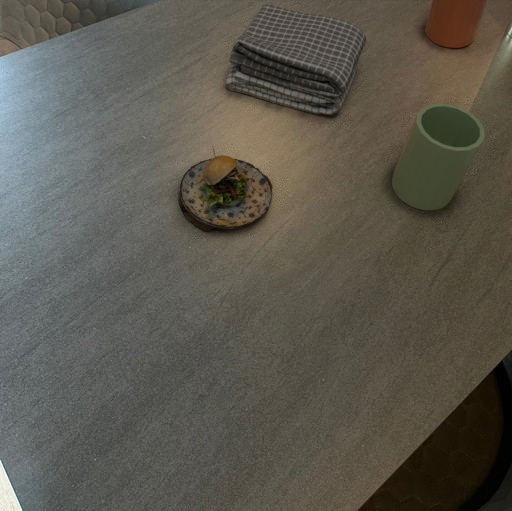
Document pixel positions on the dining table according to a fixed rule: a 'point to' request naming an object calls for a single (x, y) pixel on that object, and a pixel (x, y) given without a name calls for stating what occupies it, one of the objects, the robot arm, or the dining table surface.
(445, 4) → the terracotta cup
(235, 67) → the towel
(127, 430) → the dining table surface
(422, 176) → the sage cup
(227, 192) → the burger
